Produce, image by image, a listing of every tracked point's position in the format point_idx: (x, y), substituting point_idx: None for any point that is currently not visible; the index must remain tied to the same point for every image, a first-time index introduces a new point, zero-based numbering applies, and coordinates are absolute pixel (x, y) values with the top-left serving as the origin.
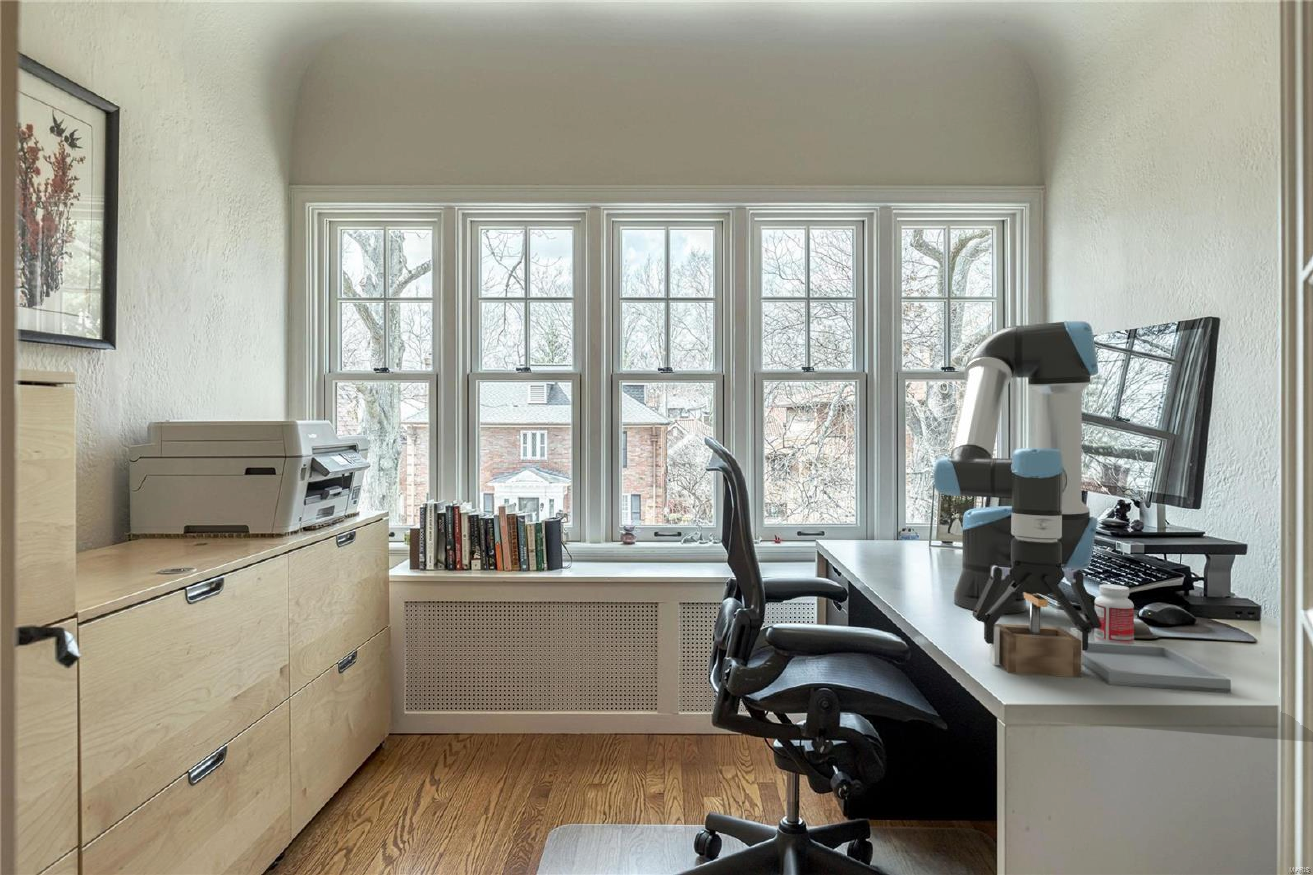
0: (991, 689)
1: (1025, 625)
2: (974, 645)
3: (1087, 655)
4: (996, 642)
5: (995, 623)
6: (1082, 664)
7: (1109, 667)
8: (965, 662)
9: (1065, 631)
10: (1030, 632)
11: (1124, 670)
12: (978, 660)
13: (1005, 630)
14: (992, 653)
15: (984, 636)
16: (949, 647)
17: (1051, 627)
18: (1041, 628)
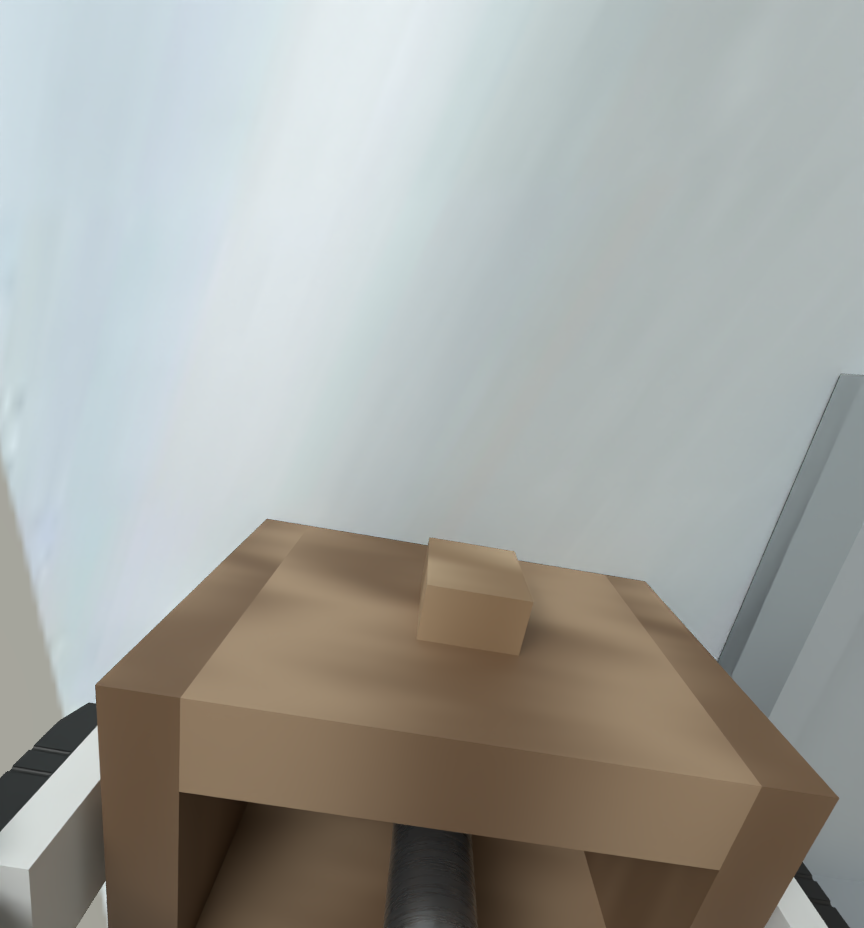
0: (104, 890)
1: (461, 752)
2: (241, 250)
3: (781, 723)
4: None
5: (28, 889)
6: (732, 641)
7: (816, 731)
8: (77, 605)
9: (752, 921)
10: (385, 913)
11: (855, 768)
12: (161, 572)
13: (147, 900)
14: None
15: (43, 746)
16: (37, 313)
17: (720, 813)
18: (573, 844)
